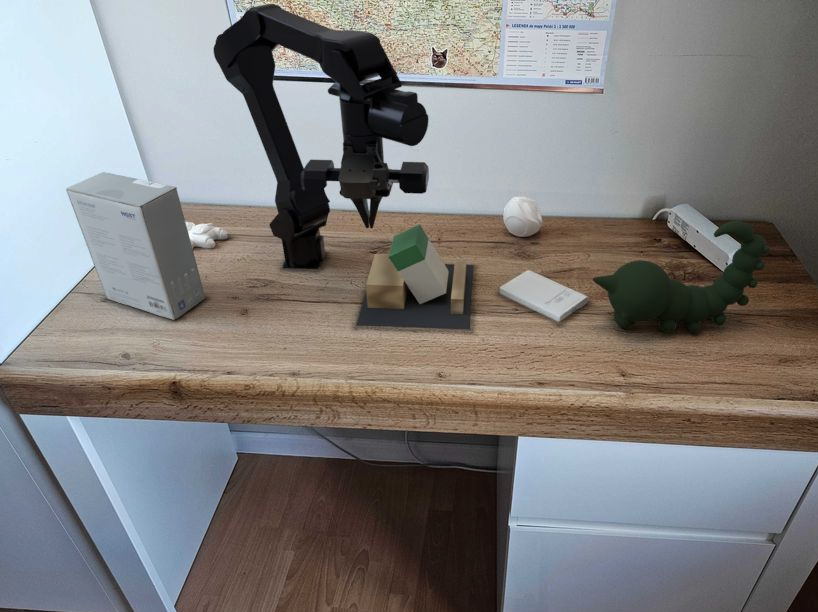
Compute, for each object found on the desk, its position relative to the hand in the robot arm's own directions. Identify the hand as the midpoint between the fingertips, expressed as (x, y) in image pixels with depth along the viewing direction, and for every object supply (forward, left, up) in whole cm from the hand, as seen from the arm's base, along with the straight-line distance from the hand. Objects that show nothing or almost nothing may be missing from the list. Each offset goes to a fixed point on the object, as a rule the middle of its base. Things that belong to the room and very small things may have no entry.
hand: (369, 227), depth 106 cm
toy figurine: (+47, -6, -13) cm, 50 cm away
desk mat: (+7, 0, -12) cm, 15 cm away
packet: (+8, 0, -12) cm, 14 cm away
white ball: (+25, +23, -13) cm, 37 cm away
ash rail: (+14, 0, -12) cm, 19 cm away
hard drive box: (-37, -4, -13) cm, 39 cm away
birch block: (+2, 0, -12) cm, 12 cm away
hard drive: (+28, 0, -13) cm, 31 cm away
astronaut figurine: (-38, +17, -13) cm, 43 cm away
